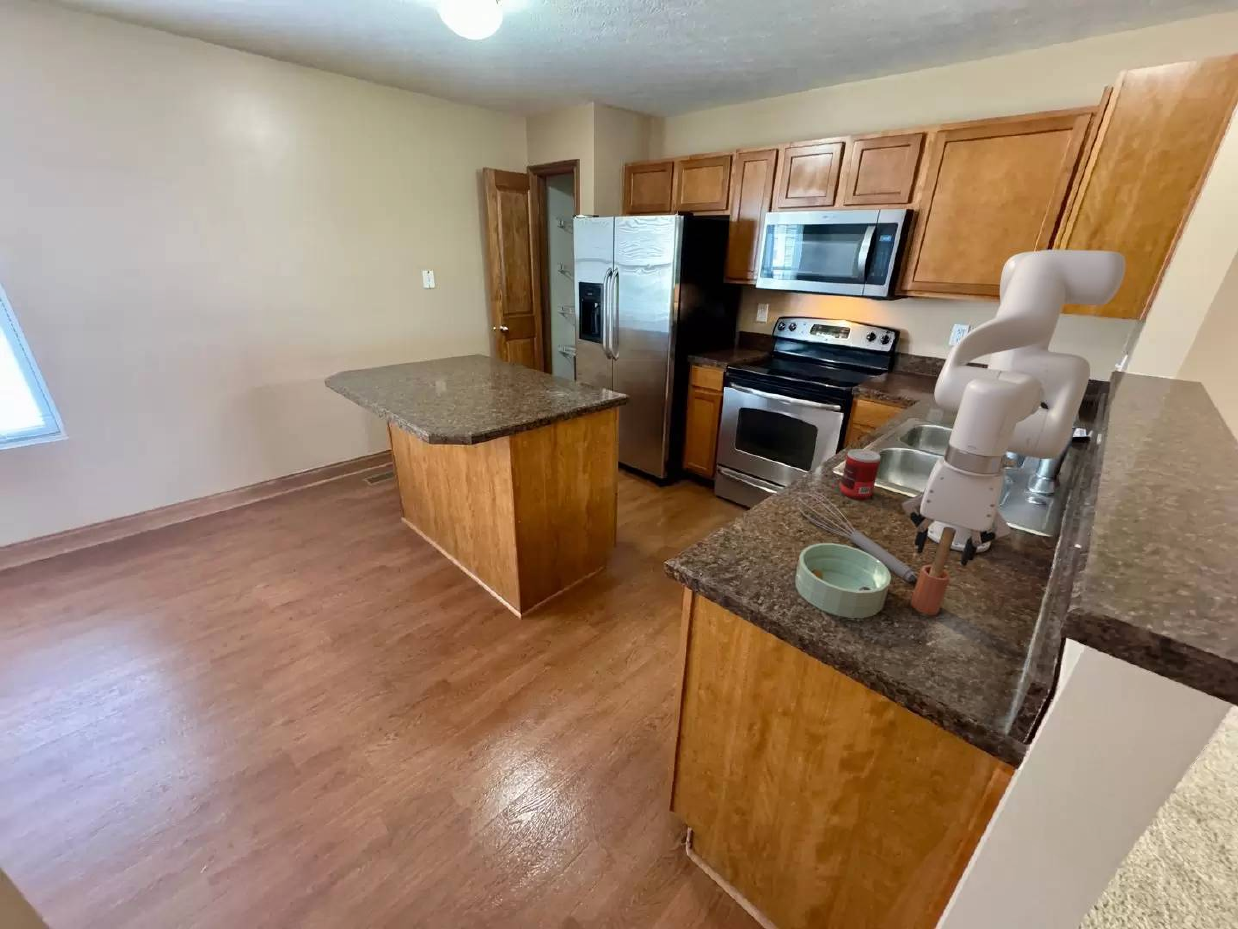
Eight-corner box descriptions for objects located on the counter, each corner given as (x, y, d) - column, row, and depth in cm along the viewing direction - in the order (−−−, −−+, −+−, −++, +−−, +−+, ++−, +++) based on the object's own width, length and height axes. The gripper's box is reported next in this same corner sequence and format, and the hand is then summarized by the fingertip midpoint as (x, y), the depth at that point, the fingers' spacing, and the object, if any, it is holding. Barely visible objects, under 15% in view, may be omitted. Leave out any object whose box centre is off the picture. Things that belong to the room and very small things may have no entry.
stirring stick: (919, 601, 93) (944, 525, 86) (930, 605, 92) (956, 528, 86) (918, 607, 92) (943, 530, 85) (930, 611, 91) (956, 533, 84)
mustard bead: (810, 575, 100) (812, 565, 99) (823, 579, 98) (825, 569, 97) (807, 581, 98) (809, 571, 97) (820, 586, 97) (822, 575, 96)
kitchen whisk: (909, 594, 96) (917, 565, 93) (789, 512, 124) (793, 489, 122) (932, 586, 98) (941, 559, 96) (809, 508, 127) (813, 485, 124)
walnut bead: (858, 593, 95) (861, 582, 94) (872, 597, 94) (875, 587, 93) (855, 600, 93) (858, 589, 92) (870, 604, 92) (873, 594, 91)
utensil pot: (911, 598, 95) (922, 561, 92) (938, 607, 93) (951, 570, 89) (908, 611, 91) (920, 574, 88) (937, 620, 89) (950, 583, 86)
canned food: (875, 492, 135) (885, 454, 130) (864, 502, 130) (874, 462, 125) (846, 483, 140) (855, 446, 135) (834, 492, 134) (843, 454, 130)
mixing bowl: (806, 559, 106) (811, 534, 103) (888, 586, 98) (895, 559, 96) (784, 599, 94) (789, 572, 91) (875, 633, 86) (884, 604, 84)
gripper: (1039, 463, 79) (1001, 561, 86) (913, 440, 87) (888, 531, 95) (1043, 481, 73) (1003, 584, 80) (909, 453, 82) (883, 549, 89)
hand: (941, 554), depth 87 cm, fingers open, 5 cm apart
